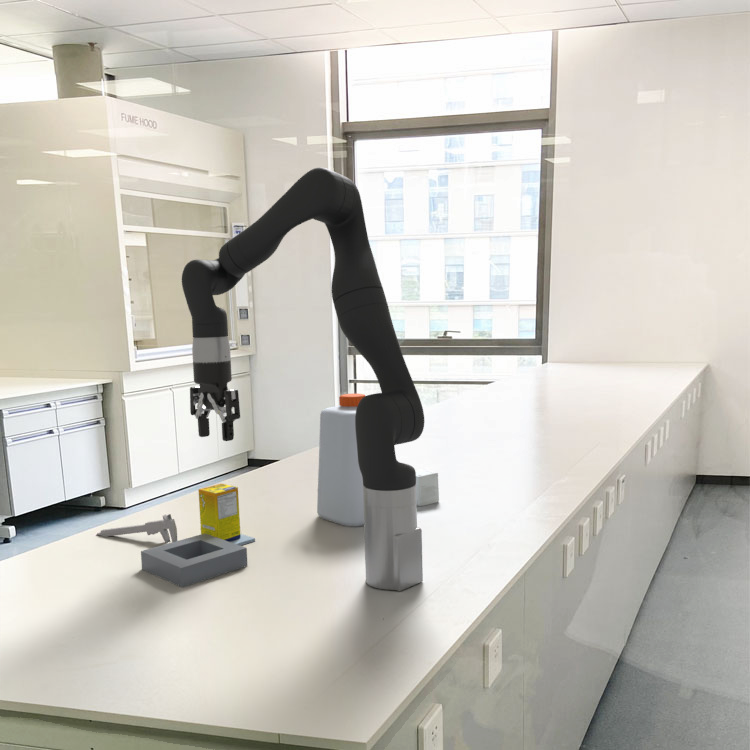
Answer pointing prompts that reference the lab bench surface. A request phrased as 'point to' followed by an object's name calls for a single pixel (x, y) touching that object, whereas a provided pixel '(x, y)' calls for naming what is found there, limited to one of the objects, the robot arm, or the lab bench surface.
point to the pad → (243, 540)
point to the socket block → (193, 559)
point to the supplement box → (220, 511)
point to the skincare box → (426, 487)
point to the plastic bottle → (340, 464)
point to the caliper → (147, 529)
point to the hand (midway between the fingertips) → (215, 438)
